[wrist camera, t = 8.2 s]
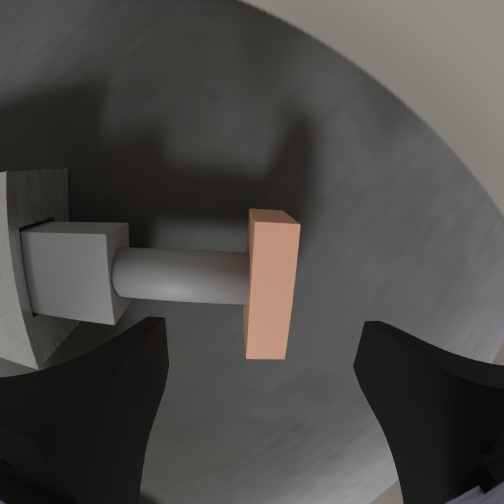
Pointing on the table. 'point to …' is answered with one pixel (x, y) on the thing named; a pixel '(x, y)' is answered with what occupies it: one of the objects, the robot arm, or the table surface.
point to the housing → (11, 266)
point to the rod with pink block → (164, 275)
